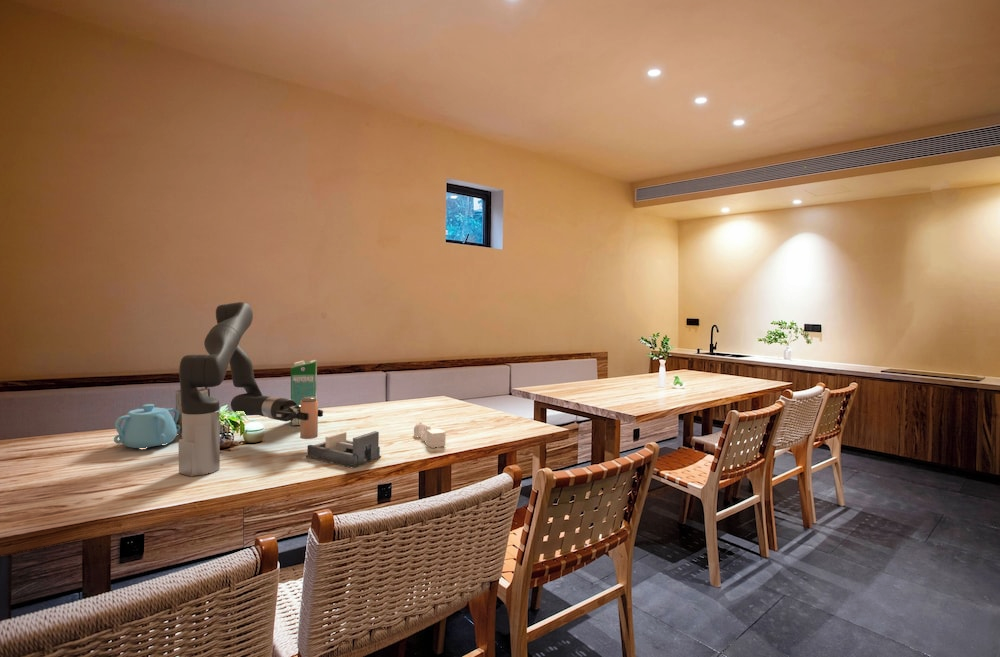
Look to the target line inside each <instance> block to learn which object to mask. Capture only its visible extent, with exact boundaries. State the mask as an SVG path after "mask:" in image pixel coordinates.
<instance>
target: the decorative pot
mask: <svg viewBox="0 0 1000 657" xmlns="http://www.w3.org/2000/svg"><path fill="white" fill-rule="evenodd" d="M141 407H142V408H136V409H133V410H129V411H128V412H127V413H126V415H122V416H119V417H118V418H117V419H116V420H115V423H114V427H115V430H116V432H117V434H116V435H115V436H114V438H113V442H114V443H116V444H123V446H125V447H127V448H133V449H138V448H146V447H148V448H151V447H157V446H160V445H162V444H166V443H168V444H169V443H172V442H173V441H174V440H175V439H176V436H178V435H177V432H178V431H179V430H180V425H178V424H176V423H177V421H178V418H179V412H178V411H177V410H176V408H172V407H170V408H165V407H155V404H153V403H147V404H142V406H141ZM170 412H174V417H173V416H172V414H171V413H170ZM121 422H122V423H121ZM176 426H177V429H176ZM118 439H119V440H118Z"/></svg>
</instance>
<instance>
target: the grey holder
mask: <svg viewBox="0 0 1000 657" xmlns="http://www.w3.org/2000/svg"><path fill="white" fill-rule="evenodd" d="M379 433H380V432H379V431H376V430H375V431H370V432H367V433H364V434H362V435H359V436H356V437H352V441H351V440H348V439H346V443H350V444H353V449H349V448H346V451H343V452H342V451H338V450H333V449H328V448H325V445H326V441H323V442H319V443H316V444H308V445H307V449H306V450H307V454H306V455H305V458H308V457H309V458H310V459H314V460H318V461H322V462H326V463H331V464H334V465H338V466H339V465H340V466H342V465H344V466H343V467H347V466H348V467H347V468H351V467H352V469H355V468H357V467H360V466H362V465H365V464H366V465H367V464H368V463H370V462H373V461H375V460H377V459H380V458H382V456H381V455H380V454H381V452H380V451H381V448H380V447H381V446H380V445H379V443H380V442H379V438H380V437H379V435H380V434H379ZM365 447H366V450H365Z"/></svg>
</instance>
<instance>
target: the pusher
mask: <svg viewBox="0 0 1000 657" xmlns="http://www.w3.org/2000/svg"><path fill="white" fill-rule="evenodd" d="M346 440H347V431H340V432H338V433H334V434H330V435H327V436H325V442H326V445H325V448H328V449H333V450H338V451H342V452H343V451H346V448H349V449H353V444H350V443H346ZM365 450H366V447H365Z"/></svg>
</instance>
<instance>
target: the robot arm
mask: <svg viewBox="0 0 1000 657" xmlns="http://www.w3.org/2000/svg"><path fill="white" fill-rule="evenodd" d="M253 318H254V314H253V309H252V307H251V306H250V305H249V304H248V303H246V302H243V301H242V302H241V301H240V302H238V301H237V302H232V303H231V302H230V303H225V304H219V305H218V306H217V307H216V309H215V320H216V324H214V326H213V327H211V329H210V330H209V331H208V332H207V335H205V336H206V337H205V339H204V341H203V344H204V348H205V351H206V352H207V353H208V354H187V355H184V356H183V357H182V358H181V360H180V363H179V367H178V368H179V369H178V370H179V373H178V376H179V385H180V386H179V387H180V389H179V390H181V406H182V435H181V438H180V439H178V473H179V474H182V475H185V476H188V477H192V478H193V477H196V476H203V475H207V474H208V473H209V474H211V473H215V472H217V471H219V469H221V460H220V459H221V456H220V455H221V454H220V452H221V450H220V448H221V447H220V445H221V444H220V442H221V441H220V436H221V435H220V434H221V433H220V431H221V430H220V401H219V400H218V398H215V397H212V396H210V397H209V396H206V395H204V394H202V393H200V392H199V391H198V389H197V388H215V387H219V386H220V385H221V384H222V383H223V382H224V379H225V377H226V374H227V371H228V369H229V368H230V375H231V380H232V383H233V387H235V388H243V389H244V390H245V391H246V392H245V393H242V394H237V395H235V396H233V398H232V399H231V401H230V408H231V410H232V411H233V412H234V413H235V412H236V411H244V412H245V414H246V415H245V416H260V417H264V418H268V419H271V420H276V421H282V422H291V421H292V420H293V419H295V420H298V419H301V420H308V413H303V412H300V405H297V404H296V403H295V401H293V400H291V398H284V397H280V396H269V395H263V393H262V391H261V389H260V387H259V385H258V383H257V380H256V379H255V373H254V368H253V363H252V360H251V358H250V357H249V356H248V354H247V353H246V352H245V350H243V349H242V347H241V346H240V345H239V344H240V341H241V339H242V338H243V335H245V332H246V331H247V330H248V329H249V328H250V326H251V324H252V323H253ZM228 367H229V368H228ZM323 416H324V410H323V409H319V408H318V418H321V417H323ZM209 474H208V475H209Z"/></svg>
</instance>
